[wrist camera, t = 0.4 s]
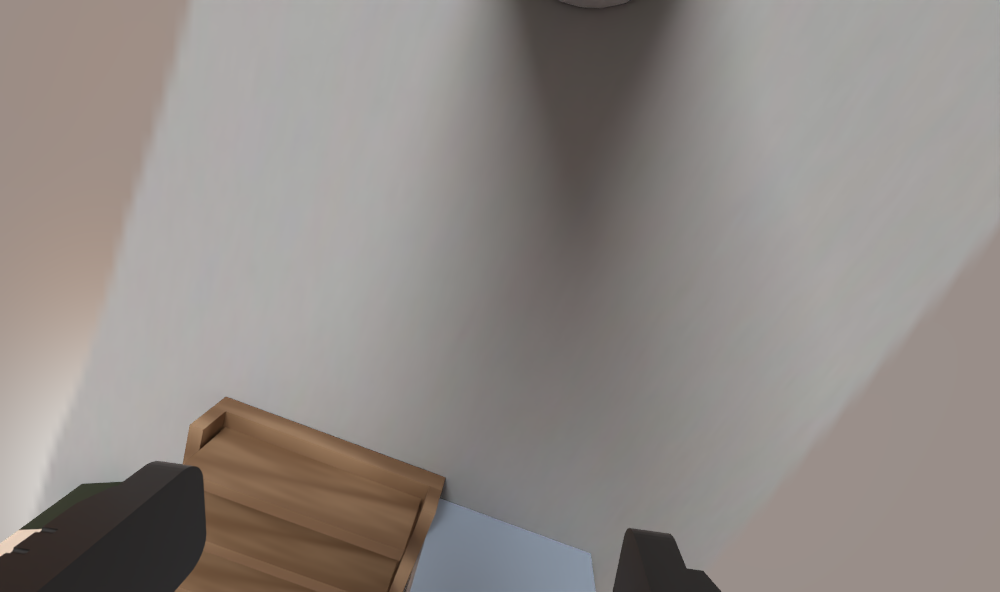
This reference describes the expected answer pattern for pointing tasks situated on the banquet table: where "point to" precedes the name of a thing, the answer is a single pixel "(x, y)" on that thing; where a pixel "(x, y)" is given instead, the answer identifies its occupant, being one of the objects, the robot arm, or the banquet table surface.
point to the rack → (302, 508)
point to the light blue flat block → (494, 557)
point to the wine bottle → (53, 513)
